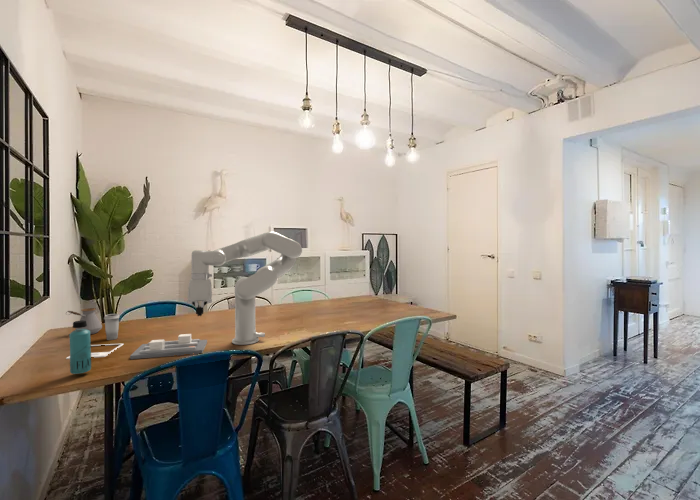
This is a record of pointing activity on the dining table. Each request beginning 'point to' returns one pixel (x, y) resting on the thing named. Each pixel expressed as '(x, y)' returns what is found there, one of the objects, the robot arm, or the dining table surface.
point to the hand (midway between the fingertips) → (199, 315)
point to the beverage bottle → (80, 348)
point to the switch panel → (170, 349)
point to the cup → (111, 326)
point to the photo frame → (102, 354)
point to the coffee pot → (89, 320)
